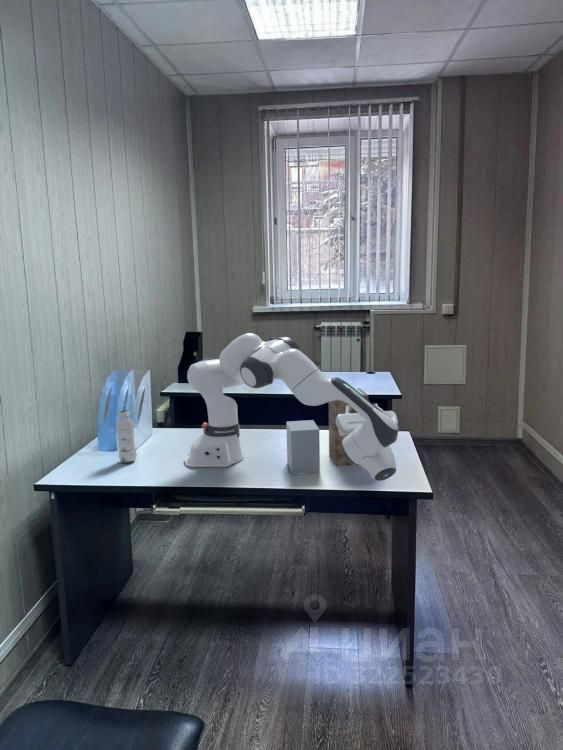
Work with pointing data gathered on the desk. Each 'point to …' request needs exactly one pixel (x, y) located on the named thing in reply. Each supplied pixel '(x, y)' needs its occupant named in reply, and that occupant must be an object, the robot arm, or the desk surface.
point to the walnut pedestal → (334, 437)
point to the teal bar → (353, 386)
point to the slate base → (303, 447)
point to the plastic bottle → (126, 437)
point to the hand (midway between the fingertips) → (361, 405)
